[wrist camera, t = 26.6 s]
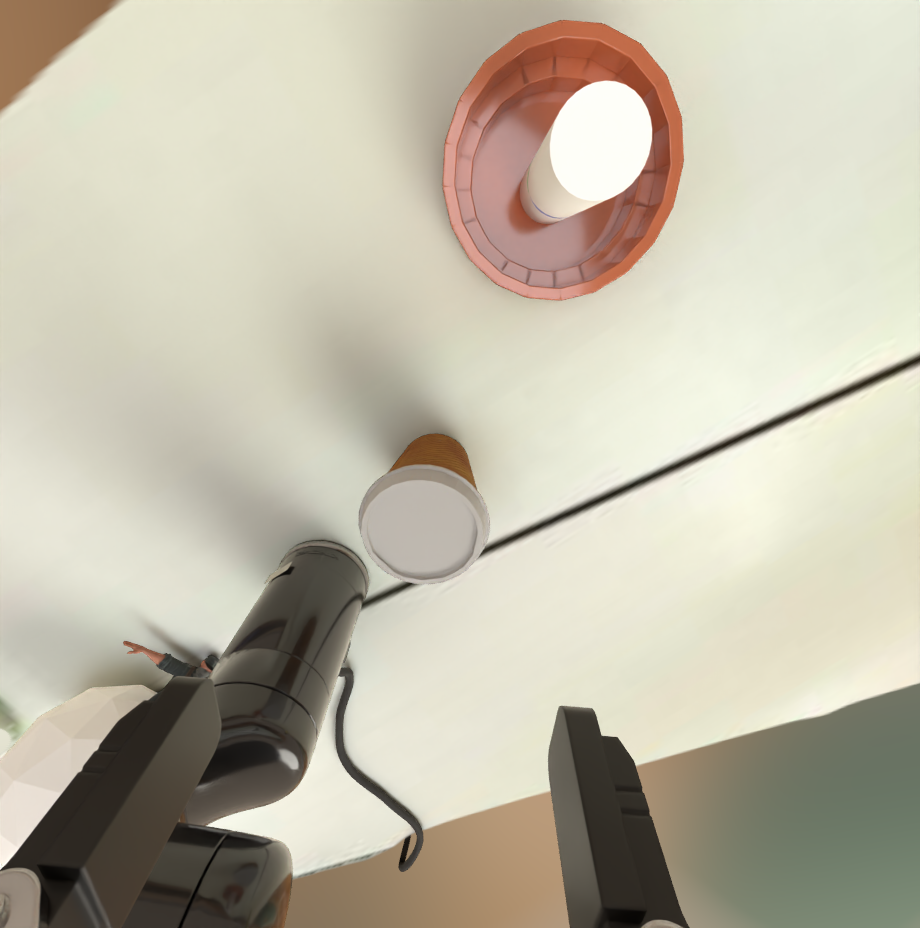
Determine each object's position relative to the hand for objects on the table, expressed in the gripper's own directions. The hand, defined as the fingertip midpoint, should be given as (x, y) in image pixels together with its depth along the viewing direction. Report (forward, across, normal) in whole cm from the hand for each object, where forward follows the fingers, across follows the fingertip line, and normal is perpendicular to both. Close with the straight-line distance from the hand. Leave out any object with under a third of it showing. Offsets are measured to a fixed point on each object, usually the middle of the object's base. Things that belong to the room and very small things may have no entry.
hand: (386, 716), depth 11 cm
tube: (+32, +6, +15) cm, 35 cm away
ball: (+32, -33, -42) cm, 62 cm away
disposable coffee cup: (+32, -1, -8) cm, 33 cm away
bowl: (+32, +6, +15) cm, 36 cm away
